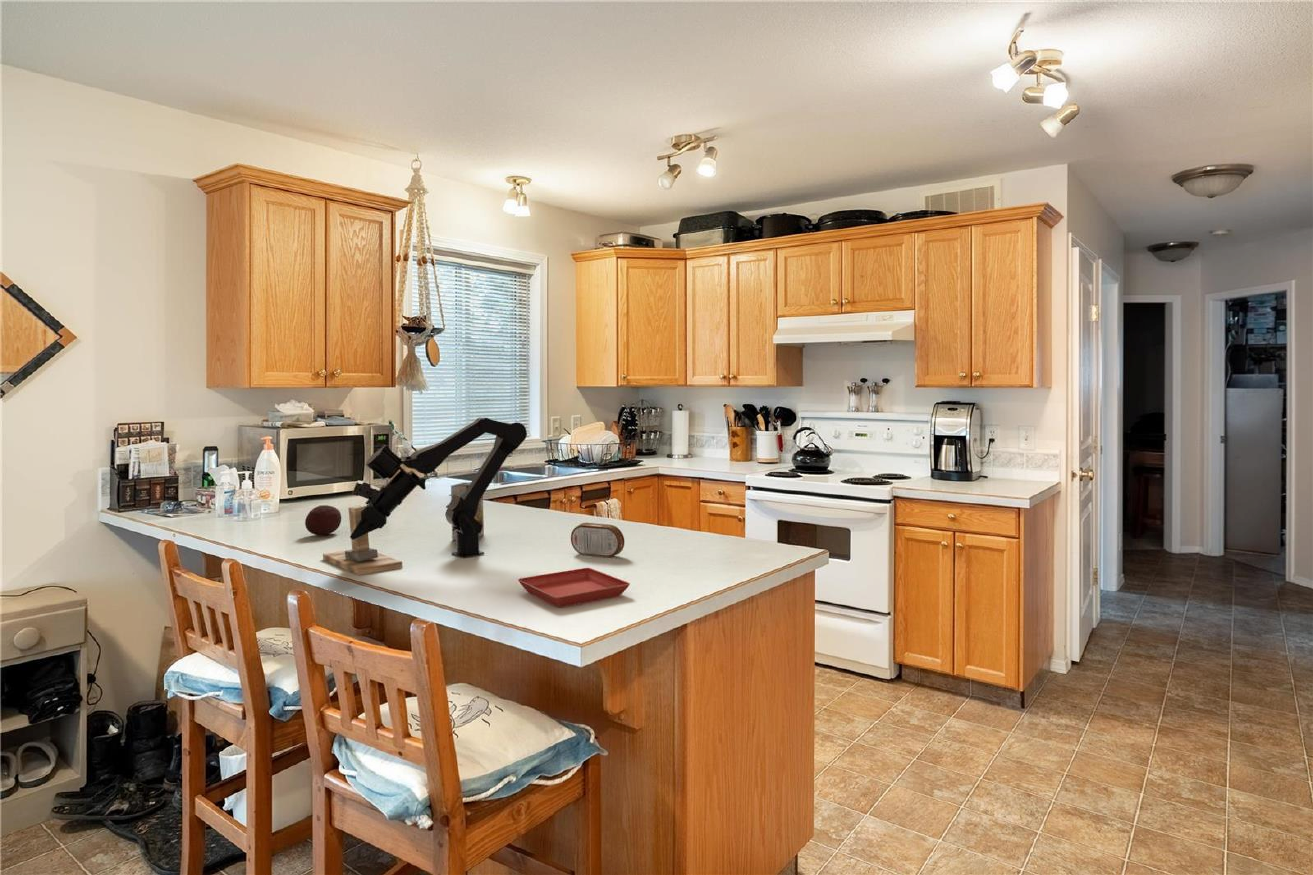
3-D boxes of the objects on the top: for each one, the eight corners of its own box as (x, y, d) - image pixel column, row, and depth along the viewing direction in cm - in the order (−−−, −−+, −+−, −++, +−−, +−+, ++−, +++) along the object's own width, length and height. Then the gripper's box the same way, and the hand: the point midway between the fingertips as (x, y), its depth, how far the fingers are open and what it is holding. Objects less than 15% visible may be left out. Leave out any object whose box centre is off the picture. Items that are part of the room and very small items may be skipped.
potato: (349, 532, 243) (348, 503, 242) (318, 540, 232) (317, 508, 231) (327, 531, 246) (326, 501, 245) (297, 538, 235) (295, 507, 234)
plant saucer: (631, 597, 165) (631, 582, 165) (555, 613, 155) (555, 596, 155) (588, 581, 180) (588, 566, 180) (516, 594, 170) (516, 578, 169)
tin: (625, 556, 204) (624, 524, 203) (619, 559, 201) (619, 526, 200) (575, 552, 210) (574, 521, 210) (569, 554, 207) (568, 523, 207)
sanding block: (377, 557, 197) (373, 506, 196) (359, 561, 193) (354, 509, 192) (364, 554, 201) (359, 504, 200) (345, 558, 198) (340, 507, 197)
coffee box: (472, 540, 227) (470, 485, 226) (451, 540, 229) (449, 485, 228) (485, 534, 236) (483, 481, 235) (465, 534, 238) (463, 481, 237)
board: (402, 567, 194) (402, 561, 194) (358, 575, 187) (357, 568, 187) (364, 553, 212) (364, 547, 212) (323, 559, 205) (322, 553, 205)
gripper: (373, 465, 205) (330, 510, 203) (369, 473, 188) (321, 521, 185) (406, 493, 208) (364, 537, 206) (405, 503, 190) (358, 552, 188)
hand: (352, 536), depth 196 cm, fingers closed on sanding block, 4 cm apart
